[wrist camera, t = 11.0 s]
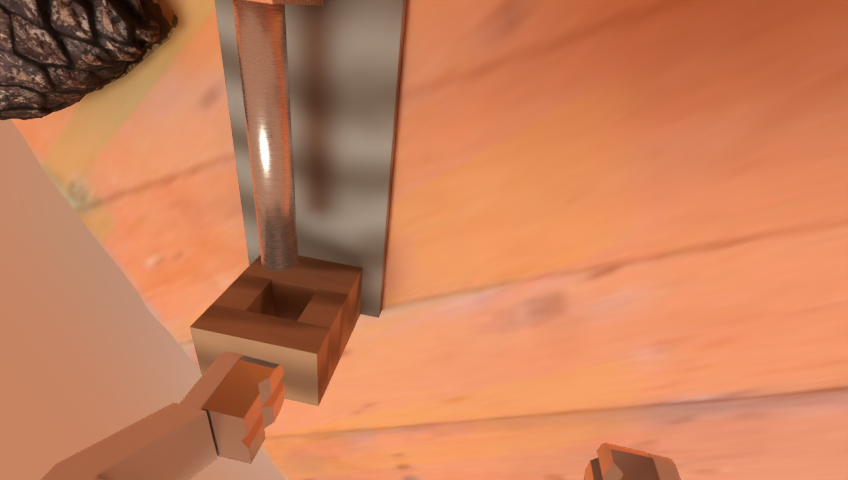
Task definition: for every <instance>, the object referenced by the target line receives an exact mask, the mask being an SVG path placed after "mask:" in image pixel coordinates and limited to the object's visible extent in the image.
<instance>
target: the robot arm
mask: <svg viewBox="0 0 848 480" xmlns="http://www.w3.org/2000/svg"><path fill="white" fill-rule="evenodd" d="M283 375H284V371H283V365H279V364H275V363H271V362H268V361H264V360H260V359H256V358H252V357H248V356H245V355H241V354H237V353H233V352H229V351H225V352H223V353H222V354H220V355H219V356H218V357H217V358H216V360H215V361H214V362H213V363H212V364H211V366H210V367H209V368H208V369H207V371H206V372H205V373H204V374H203V375H202V377H201V378H200V379H199V381H198V382H197V383H196V384H195V385H194V387H193V388H192V389H191V390H190V391H189V393H188V394H187V395H186V396H185V398H184V399H183V400H182V401H181V402H180V404H178V403H172V404H170V405H168V406H166V407H164V408H162V409H161V410H158V411H157V412H155V413H153V414H151V415H149V416H147V417H145V418H143V419H141V420H139V421H137V422H136V423H134V424H132V425H130V426H128V427H126V428H124V429H122V430H120V431H118V432H117V433H114V434H113V435H111V436H109V437H107V438H105V439H103V440H101V441H99V442H97V443H95V444H93V445H92V446H90V447H88V448H86V449H84V450H82V451H80V452H78V453H76V454H74V455H72V456H71V457H69V458H67V459H65V460H63V461H61V462H59V463H57V464H56V465H55V466H54V467H53V468H52V469H51V470H50V471H49V472H48V473H47V474H46V475H45V476H44V477H43V478H42V479H41V480H190V479H191V478H193V477H194V476H195V475H197V474H198V473H199V472H200V471H202V470H203V469H204V468H206V467H207V466H208V465H210V464H211V463H212V462H214V461H215V460H216V459H217V458H218V456H220V457H224V458H229V459H233V460H237V461H242V462H246V463H250V464H251V463H252V461H253V459H254V458H255V456H256V454H257V452H258V450H259V449H260V447H261V445H262V443H263V441H264V440H265V432H264V428H266V427H267V426H269V425H270V424H272V423H273V422H274V421H275V420H276V418H277V416H278V414H279V412H280V409H281V407H282V404H283V401H284V396H285V385H284V384H283V383H282V382H281V378H282V376H283ZM597 453H598V458H596V459H593V460H591V461H590V462H589V464H588V466H587V468H586V471H585V476H584V480H681V479H680V476H679V473H678V471H677V468H676V465H675V464H674V462H673V461H672V460H671V459H670V458H667V457H663V456H658V455H654V454H649V453H646V452H644V451H639V450H635V449H631V448H626V447H622V446H617V445H613V444H608V443H604V444H601V445H600V447H599V448H598V450H597Z"/></svg>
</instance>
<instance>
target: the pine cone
mask: <svg viewBox="0 0 848 480" xmlns="http://www.w3.org/2000/svg"><path fill="white" fill-rule="evenodd" d="M172 12H173V11H172ZM176 25H177V17H176V15H175V13H174V12H173V20H172V26H170V24H169V23H168V21H167V20H166V18H165V17H164V15H163V14H162V11H161V8H160V5H159V4H158V2H157V0H0V120H7V119H22V120H27V119H34V118H42V117H43V116H46V115H48V114H50V113H52V112H55V111H59V110H62V109H64V108H66V107H69V106H71V105H73V104H75V103H76V102H79V101H80V100H81V99H82V98H83V97H84V96H85V95H86V94H88V93H90V92H93V91H95V90H100V89H102V88H103V86H104V85H106V84H108V83H111V82H113V81H115V80H117V79H119V78H121V77H123V76H124V75H126V74H127V73H128V72H129V71H131V70H132V69H133V68H134V67H135V66H136V65H138V64H139V63H140V62H141V61H143V60H144V59H145V58H146V57H148V56H149V55H150V54H151V53H152V52H154V51H155V50H156V49H157V48H158V47H159V46H161V45H162V44H163V43H164V42H166V41H167V40H168V39H169V38H170V36H171V33H172V28H173V27H176ZM147 50H148V51H147Z"/></svg>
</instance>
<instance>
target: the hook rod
mask: <svg viewBox="0 0 848 480" xmlns="http://www.w3.org/2000/svg"><path fill="white" fill-rule="evenodd" d="M232 4H233V13H234V22H235V31H236V40H237V49H238V58H239V67H240V76H241V85H242V93H243V102H244V111H245V120H246V129H247V138H248V147H249V156H250V165H251V174H252V182H253V191H254V200H255V209H256V218H257V227H258V236H259V245H260V254H261V262H262V265H263V266H264V267H265V268H266V269H269V270H273V271H283V270H287V269H290V268H292V267H294V266H295V265H296V264H297V263H298V260H299V259H298V241H297V223H296V204H295V186H294V167H293V149H292V131H291V112H290V94H289V76H288V57H287V39H286V20H285V4H286V5H323V0H232Z"/></svg>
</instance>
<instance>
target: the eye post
mask: <svg viewBox="0 0 848 480" xmlns="http://www.w3.org/2000/svg"><path fill="white" fill-rule="evenodd" d="M406 2H407V0H323V5H286V4H285V20H286V39H287V57H288V76H289V94H290V112H291V131H292V149H293V167H294V186H295V204H296V223H297V241H298V259H299V260H298V263H297V264H296V265H295V266H294V267H292V268H290V269H287V270H283V271H273V270H269V269H266V268H265V267H264V266H263V265H262V262H261V254H260V245H259V236H258V227H257V218H256V209H255V200H254V191H253V182H252V174H251V165H250V156H249V147H248V138H247V129H246V120H245V111H244V102H243V93H242V85H241V76H240V67H239V58H238V49H237V40H236V31H235V22H234V13H233V4H232V0H215V6H216V14H217V22H218V29H219V37H220V44H221V52H222V60H223V67H224V75H225V82H226V90H227V98H228V105H229V113H230V120H231V128H232V136H233V143H234V151H235V158H236V166H237V174H238V181H239V189H240V196H241V204H242V212H243V219H244V227H245V234H246V242H247V250H248V257H249V265H250V266H249V267H248V268H247V269H246V270H245V271H244V272H243V273H242V274H241V275H240V276H239V277H238V278H237V279H236V280H235V281H234V282H233V283H232V284H231V285H230V286H229V287H228V288H227V289H226V291H225V292H224V293H223V294H222V295H221V296H220V297H219V298H218V299H217V300H216V301H215V302H214V303H213V304H212V305H211V306H210V307H209V308H208V309H207V310H206V311H205V312H204V313H203V314H202V315H201V316H200V317H199V318H198V319H197V320H196V321H195V322H194V323H193V324H192V325H191V326H190V329H191V333H192V338H193V342H194V346H195V350H196V354H197V358H198V362H199V366H200V370H201V374H202V375H203V374H204V373H205V372H206V371H207V369H208V368H209V367H210V366H211V364H212V363H213V362H214V361H215V360H216V358H217V357H218V356H219V355H220V354H222V353H223V352H225V351H229V352H233V353H237V354H241V355H245V356H248V357H252V358H256V359H260V360H264V361H268V362H271V363H275V364H279V365H283V371H284V375H283V376H282V378H281V382H282V383H283V384H284V385H285V396H284V399H289V400H293V401H298V402H302V403H307V404H311V405H316V406H319V404H320V401H321V399H322V397H323V395H324V393H325V390H326V388H327V386H328V384H329V382H330V380H331V377H332V375H333V373H334V371H335V369H336V366H337V364H338V362H339V360H340V358H341V355H342V353H343V351H344V349H345V347H346V344H347V342H348V340H349V338H350V336H351V333H352V331H353V329H354V327H355V325H356V322H357V320H358V318H359V316H360V314H363V315H368V316H373V317H378V318H379V316H380V313H381V310H382V298H383V286H384V274H385V261H386V249H387V237H388V224H389V212H390V199H391V187H392V175H393V162H394V150H395V138H396V125H397V113H398V101H399V88H400V76H401V63H402V51H403V39H404V26H405V14H406Z"/></svg>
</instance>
